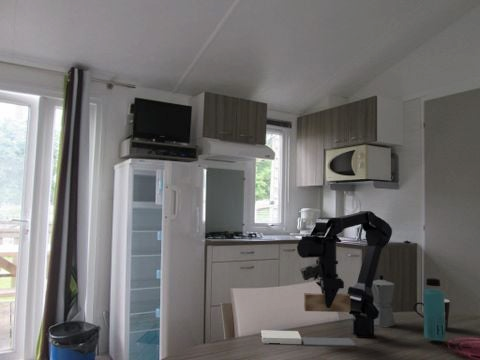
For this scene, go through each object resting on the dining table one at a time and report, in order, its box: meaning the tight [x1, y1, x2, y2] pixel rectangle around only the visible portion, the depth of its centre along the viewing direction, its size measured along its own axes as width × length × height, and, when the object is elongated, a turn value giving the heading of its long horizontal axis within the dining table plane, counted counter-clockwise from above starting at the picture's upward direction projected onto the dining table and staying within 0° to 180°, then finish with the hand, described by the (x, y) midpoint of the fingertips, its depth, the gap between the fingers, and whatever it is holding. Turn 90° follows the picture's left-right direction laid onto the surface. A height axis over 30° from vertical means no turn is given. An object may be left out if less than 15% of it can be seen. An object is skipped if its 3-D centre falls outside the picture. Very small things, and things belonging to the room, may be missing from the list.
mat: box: [301, 336, 357, 348], centre depth 125 cm, size 16×7×1 cm, turn 90°
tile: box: [260, 329, 303, 345], centre depth 127 cm, size 12×2×8 cm
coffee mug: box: [413, 298, 451, 331], centre depth 146 cm, size 12×9×10 cm
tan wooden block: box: [303, 292, 350, 313], centre depth 126 cm, size 14×3×5 cm, turn 89°
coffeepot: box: [372, 274, 396, 327], centre depth 150 cm, size 15×9×18 cm, turn 150°
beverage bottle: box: [422, 277, 447, 341], centre depth 129 cm, size 6×7×20 cm
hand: (327, 306), depth 126 cm, fingers closed on tan wooden block, 3 cm apart
